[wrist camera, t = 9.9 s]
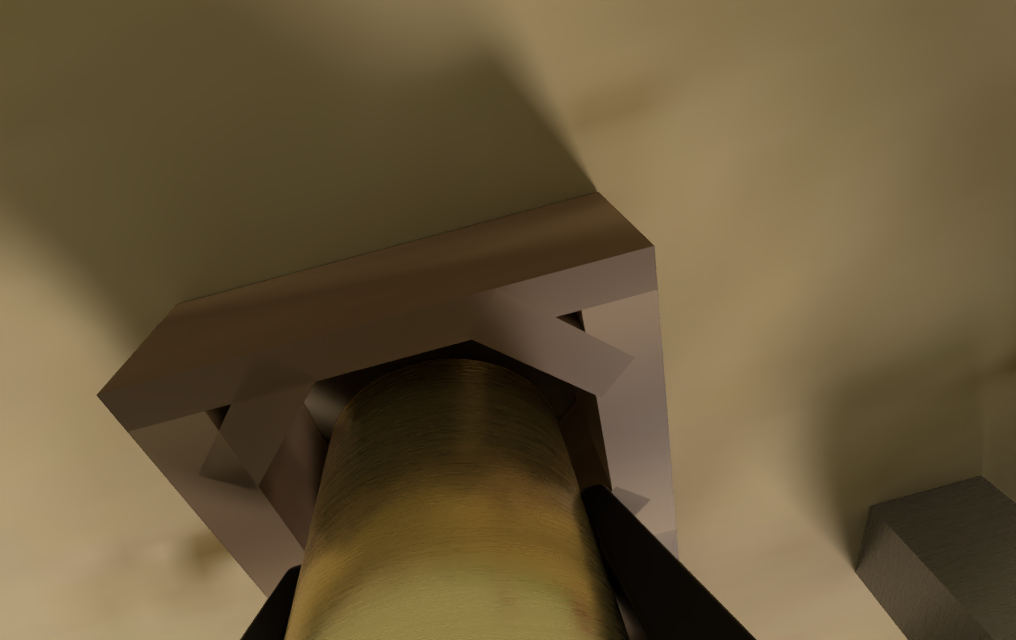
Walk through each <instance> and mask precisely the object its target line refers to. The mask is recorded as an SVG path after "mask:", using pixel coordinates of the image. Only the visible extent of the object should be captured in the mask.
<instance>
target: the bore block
mask: <svg viewBox="0 0 1016 640" xmlns="http://www.w3.org/2000/svg"><path fill="white" fill-rule="evenodd" d="M468 340H474V341H477V342H479V343H481V344H483V345H486V346H488V347H490V348H492V349H494V350H497V351H499V352H501V353H503V354H506V355H508V356H510V357H512V358H514V359H517V360H519V361H521V362H523V363H526V364H528V365H530V366H532V367H534V368H537V369H539V370H541V371H543V372H546V373H548V374H550V375H552V376H554V377H557V378H559V379H561V380H563V381H566V382H568V383H570V384H572V385H573V387H574V392H575V397H576V401H575V403H574V404H573V405H572V406H571V408H570V409H569V410H568V411H567V412H566V414H565V415H564V416H563V417H562V419H561V420H560V421H559V422H558V425H559V428H560V431H561V434H562V437H563V440H564V443H565V446H566V449H567V452H568V455H569V458H570V461H571V464H572V467H573V470H574V473H575V476H576V479H577V482H578V485H579V488H580V491H582V489H583V488H586V487H589V486H593V485H597V484H603V485H605V486H606V487H607V488H608V489H609V490H610V491H611V492H612V493H613V494H614V495H615V496H616V497H617V498H618V499H619V500H620V501H621V502H622V503H623V504H624V505H625V506H626V507H627V508H628V509H629V510H630V511H631V512H632V513H633V514H634V515H635V516H636V518H637V519H638V520H639V521H640V522H641V523H642V524H643V525H644V526H645V527H646V528H647V529H648V530H649V531H650V532H651V533H652V534H653V535H654V536H655V537H656V538H657V539H658V540H659V541H660V542H661V543H662V544H663V545H664V546H665V547H666V548H667V549H668V550H669V551H670V552H671V553H672V554H673V555H674V556H675V557H676V558H677V559H678V560H679V558H678V546H677V533H676V520H675V507H674V494H673V481H672V468H671V455H670V442H669V429H668V417H667V404H666V391H665V378H664V365H663V352H662V339H661V326H660V313H659V301H658V288H657V275H656V262H655V249H654V245H653V244H652V243H651V242H650V241H649V240H648V239H647V238H646V237H645V236H644V235H643V234H641V233H640V232H639V231H638V230H637V229H636V228H635V227H634V226H633V225H632V224H631V223H630V222H629V221H628V220H627V219H626V218H625V217H624V216H623V215H622V214H621V213H620V212H619V211H618V210H617V209H616V208H615V207H614V206H612V205H611V204H610V203H609V202H608V201H607V200H606V199H605V198H604V197H603V196H602V195H601V194H600V193H599V192H596V193H593V194H589V195H585V196H581V197H578V198H574V199H570V200H566V201H563V202H559V203H555V204H551V205H548V206H544V207H540V208H536V209H533V210H529V211H525V212H521V213H518V214H514V215H510V216H506V217H503V218H499V219H495V220H491V221H488V222H484V223H480V224H476V225H473V226H469V227H465V228H461V229H457V230H454V231H450V232H446V233H442V234H439V235H435V236H431V237H427V238H424V239H420V240H416V241H412V242H409V243H405V244H401V245H397V246H394V247H390V248H386V249H382V250H379V251H375V252H371V253H367V254H364V255H360V256H356V257H352V258H349V259H345V260H341V261H337V262H334V263H330V264H326V265H322V266H319V267H315V268H311V269H307V270H304V271H300V272H296V273H292V274H289V275H285V276H281V277H277V278H274V279H270V280H266V281H262V282H259V283H255V284H251V285H247V286H244V287H240V288H236V289H232V290H229V291H225V292H221V293H217V294H214V295H210V296H206V297H202V298H199V299H195V300H191V301H187V302H184V303H180V304H177V305H176V306H175V307H174V308H173V309H172V310H171V311H170V313H169V314H168V315H167V316H166V317H165V318H164V319H163V320H162V322H161V323H160V324H159V325H158V326H157V327H156V328H155V330H154V331H153V332H152V333H151V334H150V335H149V336H148V337H147V339H146V340H145V341H144V342H143V343H142V344H141V345H140V346H139V348H138V349H137V350H136V351H135V352H134V353H133V354H132V356H131V357H130V358H129V359H128V360H127V361H126V362H125V363H124V365H123V366H122V367H121V368H120V369H119V370H118V371H117V372H116V374H115V375H114V376H113V377H112V378H111V379H110V380H109V382H108V383H107V384H106V385H105V386H104V387H103V388H102V389H101V391H100V392H99V393H98V394H97V396H98V398H99V399H100V400H101V401H102V402H103V403H104V405H105V406H106V407H107V408H108V409H109V411H110V412H111V413H112V414H113V415H114V416H115V418H116V419H117V420H118V421H119V422H120V424H121V425H122V426H123V427H124V428H125V430H126V431H127V432H128V433H129V434H130V435H131V437H132V438H133V439H134V440H135V441H136V443H137V444H138V445H139V446H140V447H141V448H142V450H143V451H144V452H145V453H146V454H147V456H148V457H149V458H150V459H151V460H152V462H153V463H154V464H155V465H156V466H157V467H158V469H159V470H160V471H161V472H162V473H163V475H164V476H165V477H166V478H167V479H168V480H169V482H170V483H171V484H172V485H173V486H174V488H175V489H176V490H177V491H178V492H179V494H180V495H181V496H182V497H183V498H184V499H185V501H186V502H187V503H188V504H189V505H190V507H191V508H192V509H193V510H194V511H195V513H196V514H197V515H198V516H199V517H200V518H201V520H202V521H203V522H204V523H205V524H206V526H207V527H208V528H209V529H210V530H211V531H212V533H213V534H214V535H215V536H216V537H217V539H218V540H219V541H220V542H221V543H222V545H223V546H224V547H225V548H226V549H227V550H228V552H229V553H230V554H231V555H232V556H233V558H234V559H235V560H236V561H237V562H238V563H239V565H240V566H241V567H242V568H243V569H244V571H245V572H246V573H247V574H248V575H249V577H250V578H251V579H252V580H253V581H254V582H255V584H256V585H257V586H258V587H259V588H260V590H261V591H262V592H263V593H264V594H265V595H266V597H267V598H269V596H270V595H271V594H272V592H273V591H274V589H275V588H276V586H277V585H278V583H279V582H280V580H281V579H282V577H283V576H284V574H285V573H286V572H287V571H288V570H289V569H290V568H291V567H293V566H297V565H300V564H302V560H303V556H304V552H305V547H306V543H307V539H308V534H309V530H310V526H311V521H312V517H313V513H314V508H315V504H316V500H317V495H318V491H319V487H320V482H321V478H322V474H323V469H324V465H325V461H326V456H327V452H328V448H329V446H328V445H327V443H326V441H325V439H324V438H323V436H322V434H321V432H320V431H319V429H318V427H317V425H316V424H315V422H314V420H313V418H312V417H311V415H310V413H309V411H308V410H307V408H306V406H305V404H304V401H305V399H306V397H307V396H308V394H309V392H310V390H311V388H312V386H313V384H314V383H315V381H319V380H323V379H327V378H330V377H334V376H338V375H341V374H345V373H349V372H353V371H356V370H360V369H364V368H367V367H371V366H375V365H379V364H382V363H386V362H390V361H394V360H397V359H401V358H405V357H408V356H412V355H416V354H420V353H423V352H427V351H431V350H435V349H438V348H442V347H446V346H449V345H453V344H457V343H461V342H464V341H468Z"/></svg>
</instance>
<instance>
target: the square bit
mask: <svg viewBox="0 0 1016 640" xmlns="http://www.w3.org/2000/svg"><path fill="white" fill-rule="evenodd" d="M855 573H856V574H857V575H858V577H859V578H860V579H861V580H862V582H863V583H864V584H865V585H866V587H867V588H868V589H869V591H870V592H871V593H872V594H873V596H874V597H875V598H876V599H877V601H878V602H879V603H880V605H881V606H882V607H883V608H884V610H885V611H886V612H887V613H888V615H889V616H890V617H891V619H892V620H893V621H894V622H895V624H896V625H897V626H898V627H899V629H900V630H901V631H902V633H903V634H904V635H905V636H906V638H907V639H908V640H1016V503H1014V502H1013V501H1012V500H1011V499H1009V498H1008V497H1007V496H1006V495H1004V494H1003V493H1002V492H1001V491H1000V490H998V489H997V488H996V487H995V486H993V485H992V484H991V483H990V482H988V481H987V480H986V479H985V478H984V477H982V476H978V477H975V478H971V479H967V480H964V481H960V482H956V483H953V484H949V485H945V486H942V487H938V488H934V489H931V490H927V491H923V492H920V493H916V494H912V495H909V496H905V497H901V498H898V499H894V500H890V501H887V502H883V503H879V504H876V505H872V506H870V510H869V514H868V519H867V523H866V527H865V532H864V536H863V540H862V545H861V549H860V553H859V558H858V562H857V566H856V571H855Z"/></svg>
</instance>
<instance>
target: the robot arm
mask: <svg viewBox="0 0 1016 640" xmlns="http://www.w3.org/2000/svg"><path fill="white" fill-rule="evenodd" d="M581 494H582V497H583V500H584V503H585V506H586V509H587V512H588V515H589V518H590V521H591V524H592V527H593V530H594V533H595V536H596V539H597V542H598V545H599V548H600V551H601V554H602V557H603V560H604V563H605V566H606V570H607V573H608V576H609V579H610V582H611V585H612V588H613V591H614V594H615V597H616V600H617V603H618V606H619V609H620V612H621V615H622V618H623V621H624V624H625V627H626V630H627V633H628V636H629V639H630V640H756V639H755V638H754V637H753V636H752V635H751V634H750V633H749V632H748V631H747V630H746V629H745V627H744V626H743V625H742V624H741V623H740V622H739V621H738V620H737V619H736V618H735V617H734V616H733V615H732V614H731V613H730V612H729V611H728V610H727V609H726V608H725V607H724V606H723V605H722V604H721V603H720V602H719V601H718V600H717V599H716V598H715V597H714V596H713V595H712V594H711V593H710V592H709V591H708V590H707V589H706V588H705V587H704V586H703V585H702V584H701V583H700V582H699V581H698V580H697V579H696V578H695V577H694V576H693V575H692V574H691V573H690V571H689V570H688V569H687V568H686V567H685V566H684V565H683V564H682V563H681V562H680V561H679V560H678V559H677V558H676V557H675V556H674V555H673V554H672V553H671V552H670V551H669V550H668V549H667V548H666V547H665V546H664V545H663V544H662V543H661V542H660V541H659V540H658V539H657V538H656V537H655V536H654V535H653V534H652V533H651V532H650V531H649V530H648V529H647V528H646V527H645V526H644V525H643V524H642V523H641V522H640V521H639V520H638V519H637V518H636V516H635V515H634V514H633V513H632V512H631V511H630V510H629V509H628V508H627V507H626V506H625V505H624V504H623V503H622V502H621V501H620V500H619V499H618V498H617V497H616V496H615V495H614V494H613V493H612V492H611V491H610V490H609V489H608V488H607V487H606V486H605V485H603V484H597V485H593V486H589V487H586V488H583V489H582V491H581ZM301 565H302V564H300V565H297V566H293V567H291V568H290V569H289V570H288V571H287V572H286V573H285V574H284V576H283V577H282V579H281V580H280V582H279V583H278V585H277V586H276V588H275V589H274V591H273V592H272V594H271V595H270V596H269V598H268V599H267V601H266V602H265V604H264V605H263V607H262V608H261V610H260V611H259V613H258V614H257V616H256V617H255V619H254V620H253V622H252V623H251V624H250V626H249V627H248V629H247V630H246V632H245V633H244V635H243V636H242V638H241V639H240V640H284V638H285V634H286V630H287V625H288V621H289V617H290V612H291V608H292V604H293V599H294V595H295V591H296V586H297V582H298V578H299V573H300V569H301Z"/></svg>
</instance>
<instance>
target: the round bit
mask: <svg viewBox="0 0 1016 640" xmlns="http://www.w3.org/2000/svg"><path fill="white" fill-rule="evenodd" d="M284 640H630V639H629V636H628V633H627V630H626V627H625V624H624V621H623V618H622V615H621V612H620V609H619V606H618V603H617V600H616V597H615V594H614V591H613V588H612V585H611V582H610V579H609V576H608V573H607V570H606V566H605V563H604V560H603V557H602V554H601V551H600V548H599V545H598V542H597V539H596V536H595V533H594V530H593V527H592V524H591V521H590V518H589V515H588V512H587V509H586V506H585V503H584V500H583V497H582V494H581V491H580V488H579V485H578V482H577V479H576V476H575V473H574V470H573V467H572V464H571V461H570V458H569V455H568V452H567V449H566V446H565V443H564V440H563V437H562V434H561V431H560V428H559V425H558V422H557V419H556V416H555V413H554V411H553V409H552V407H551V405H550V403H549V402H548V400H547V399H546V398H545V397H544V395H543V394H542V393H541V392H540V391H539V390H538V389H537V388H536V387H535V386H534V385H533V384H532V383H530V382H529V381H527V380H526V379H525V378H523V377H522V376H520V375H518V374H516V373H514V372H512V371H510V370H508V369H506V368H503V367H500V366H497V365H495V364H491V363H486V362H482V361H477V360H468V359H438V360H428V361H424V362H419V363H414V364H411V365H408V366H404V367H401V368H398V369H396V370H394V371H391V372H389V373H387V374H385V375H383V376H381V377H379V378H378V379H376V380H374V381H373V382H371V383H370V384H368V385H367V386H366V387H364V388H363V389H362V390H361V391H359V392H358V393H357V394H356V395H355V396H354V397H353V398H352V399H351V400H350V401H349V402H348V404H347V405H346V406H345V408H344V409H343V411H342V412H341V413H340V415H339V417H338V419H337V421H336V423H335V425H334V428H333V432H332V435H331V439H330V443H329V448H328V452H327V456H326V461H325V465H324V469H323V474H322V478H321V482H320V487H319V491H318V495H317V500H316V504H315V508H314V513H313V517H312V521H311V526H310V530H309V534H308V539H307V543H306V547H305V552H304V556H303V560H302V565H301V569H300V573H299V578H298V582H297V586H296V591H295V595H294V599H293V604H292V608H291V612H290V617H289V621H288V625H287V630H286V634H285V638H284Z"/></svg>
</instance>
